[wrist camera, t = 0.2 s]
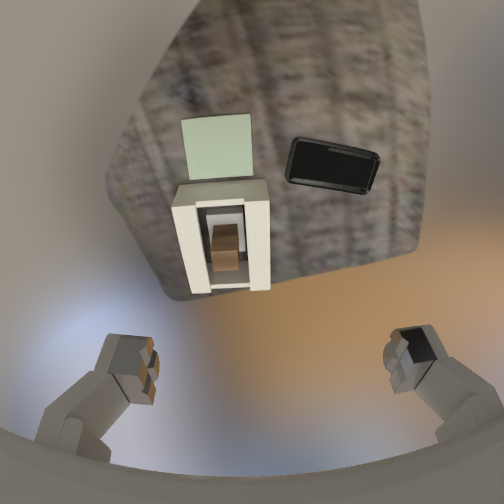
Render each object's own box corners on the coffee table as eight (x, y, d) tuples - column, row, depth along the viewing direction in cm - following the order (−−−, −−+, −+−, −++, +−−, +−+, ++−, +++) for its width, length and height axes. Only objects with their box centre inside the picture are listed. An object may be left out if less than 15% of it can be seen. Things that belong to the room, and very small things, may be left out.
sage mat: (181, 119, 41) (181, 120, 41) (249, 113, 41) (250, 114, 41) (190, 178, 47) (189, 180, 47) (253, 173, 47) (253, 175, 47)
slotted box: (179, 184, 48) (171, 207, 43) (265, 178, 48) (269, 200, 43) (195, 267, 60) (192, 293, 54) (267, 263, 60) (270, 289, 54)
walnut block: (213, 225, 51) (210, 251, 46) (237, 223, 51) (237, 250, 46) (216, 243, 54) (213, 271, 48) (239, 242, 54) (239, 270, 48)
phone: (368, 195, 50) (284, 182, 48) (365, 192, 50) (283, 179, 49) (382, 155, 45) (294, 136, 43) (379, 152, 45) (293, 134, 44)
